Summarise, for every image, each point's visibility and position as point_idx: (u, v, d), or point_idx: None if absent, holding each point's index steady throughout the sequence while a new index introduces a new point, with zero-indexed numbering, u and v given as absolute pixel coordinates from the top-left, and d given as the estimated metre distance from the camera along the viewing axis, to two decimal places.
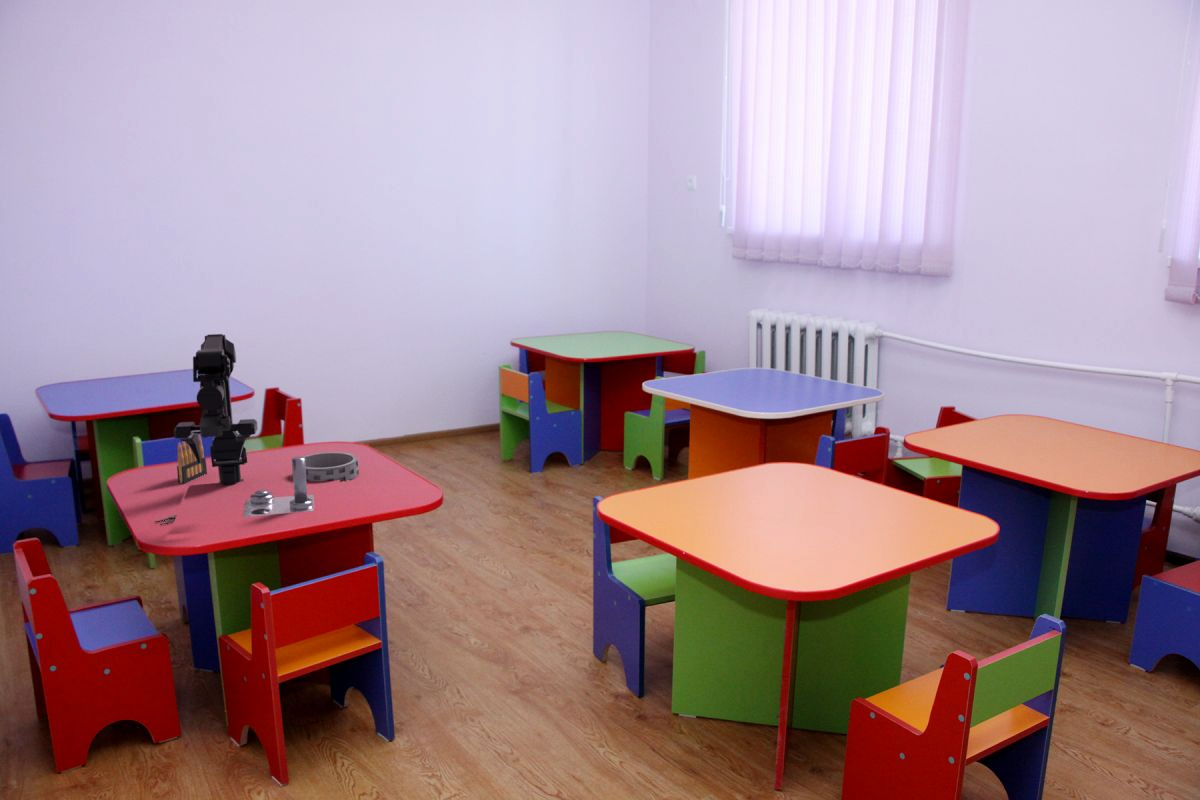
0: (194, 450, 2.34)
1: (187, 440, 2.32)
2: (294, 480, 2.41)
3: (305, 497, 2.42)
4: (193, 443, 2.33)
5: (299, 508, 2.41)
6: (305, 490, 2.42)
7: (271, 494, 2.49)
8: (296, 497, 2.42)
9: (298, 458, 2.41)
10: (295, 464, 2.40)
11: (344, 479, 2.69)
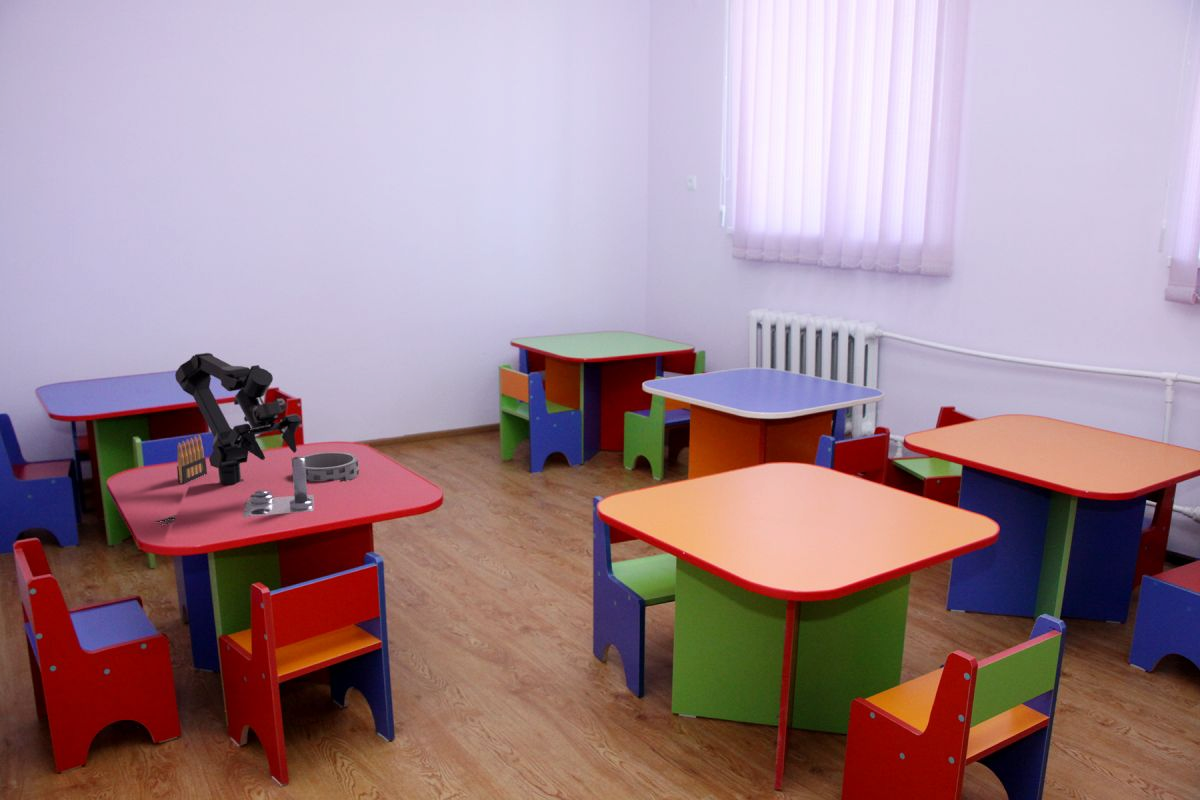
0: (256, 445, 2.42)
1: (249, 433, 2.42)
2: (294, 480, 2.41)
3: (305, 497, 2.42)
4: (254, 438, 2.43)
5: (299, 508, 2.41)
6: (305, 490, 2.42)
7: (271, 494, 2.49)
8: (296, 497, 2.42)
9: (298, 458, 2.41)
10: (295, 464, 2.40)
11: (344, 479, 2.69)
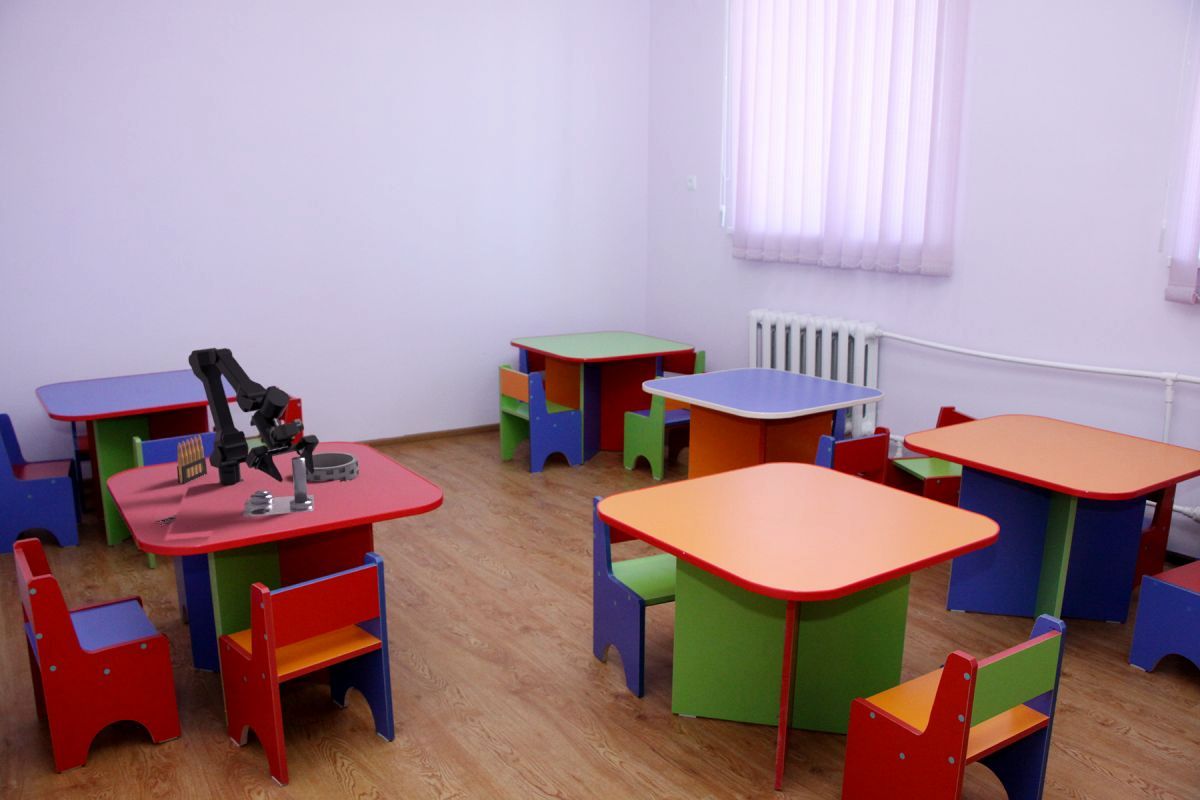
0: (274, 467, 2.39)
1: (267, 455, 2.38)
2: (294, 480, 2.41)
3: (305, 497, 2.42)
4: (271, 460, 2.39)
5: (299, 508, 2.41)
6: (305, 490, 2.42)
7: (271, 494, 2.49)
8: (296, 497, 2.42)
9: (298, 458, 2.41)
10: (295, 464, 2.40)
11: (344, 479, 2.69)
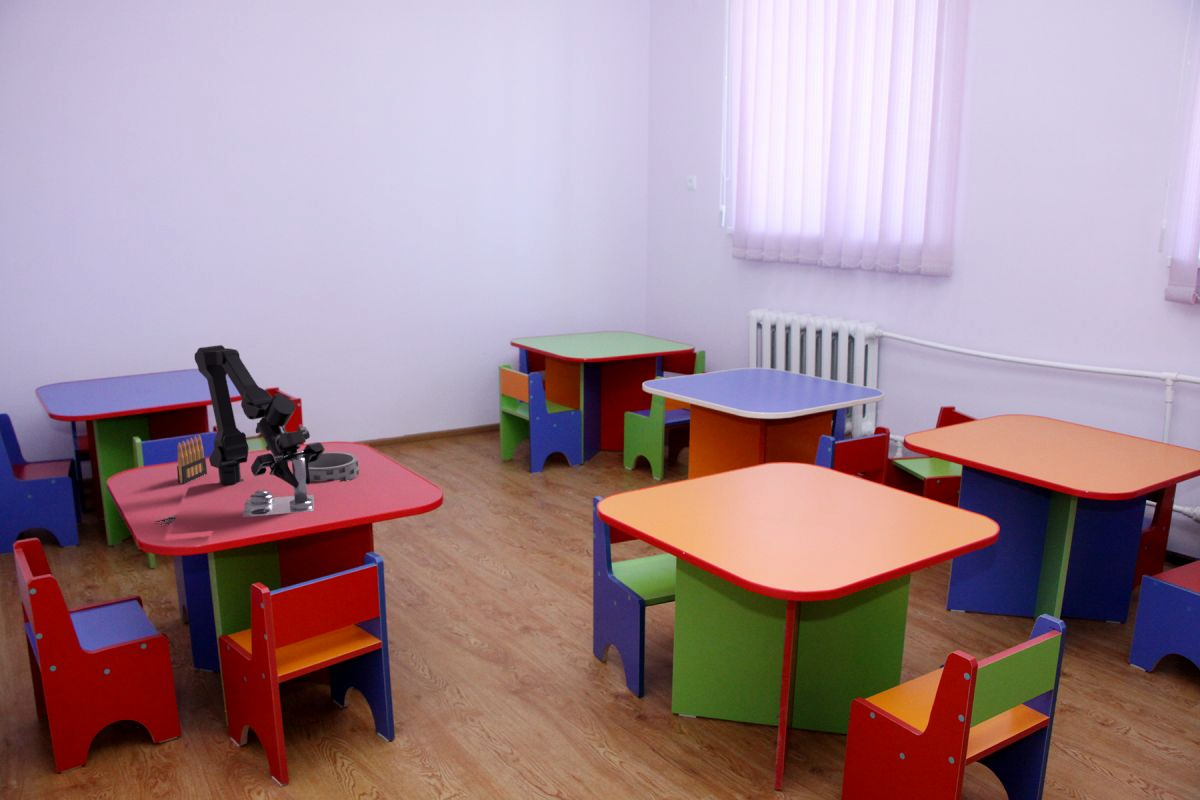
0: (289, 473, 2.40)
1: (282, 461, 2.39)
2: None
3: (305, 497, 2.42)
4: (287, 466, 2.40)
5: (299, 508, 2.41)
6: (305, 490, 2.42)
7: (271, 494, 2.49)
8: (296, 497, 2.42)
9: (298, 458, 2.41)
10: (295, 464, 2.40)
11: (344, 479, 2.69)
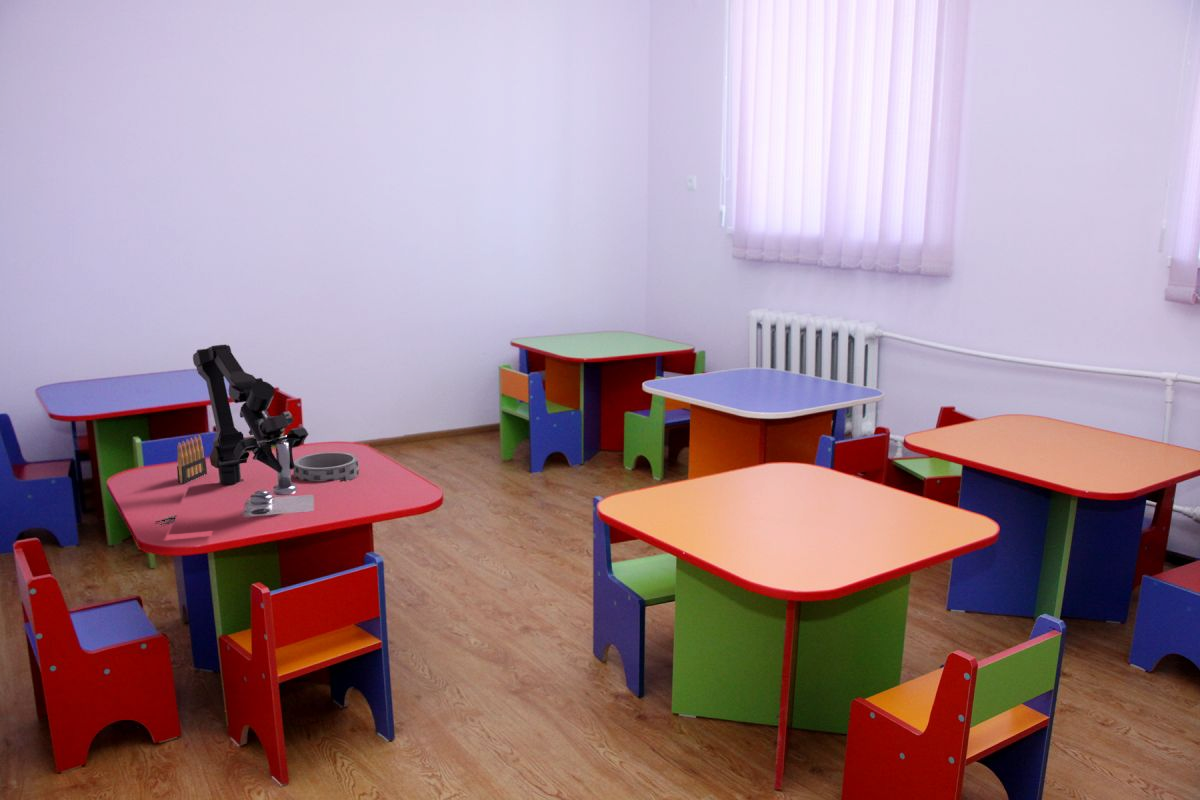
0: (273, 458, 2.38)
1: (266, 445, 2.37)
2: None
3: (289, 482, 2.40)
4: (270, 450, 2.38)
5: (283, 493, 2.39)
6: (289, 475, 2.40)
7: (271, 494, 2.49)
8: (280, 482, 2.40)
9: (282, 443, 2.39)
10: (279, 449, 2.37)
11: (344, 479, 2.69)
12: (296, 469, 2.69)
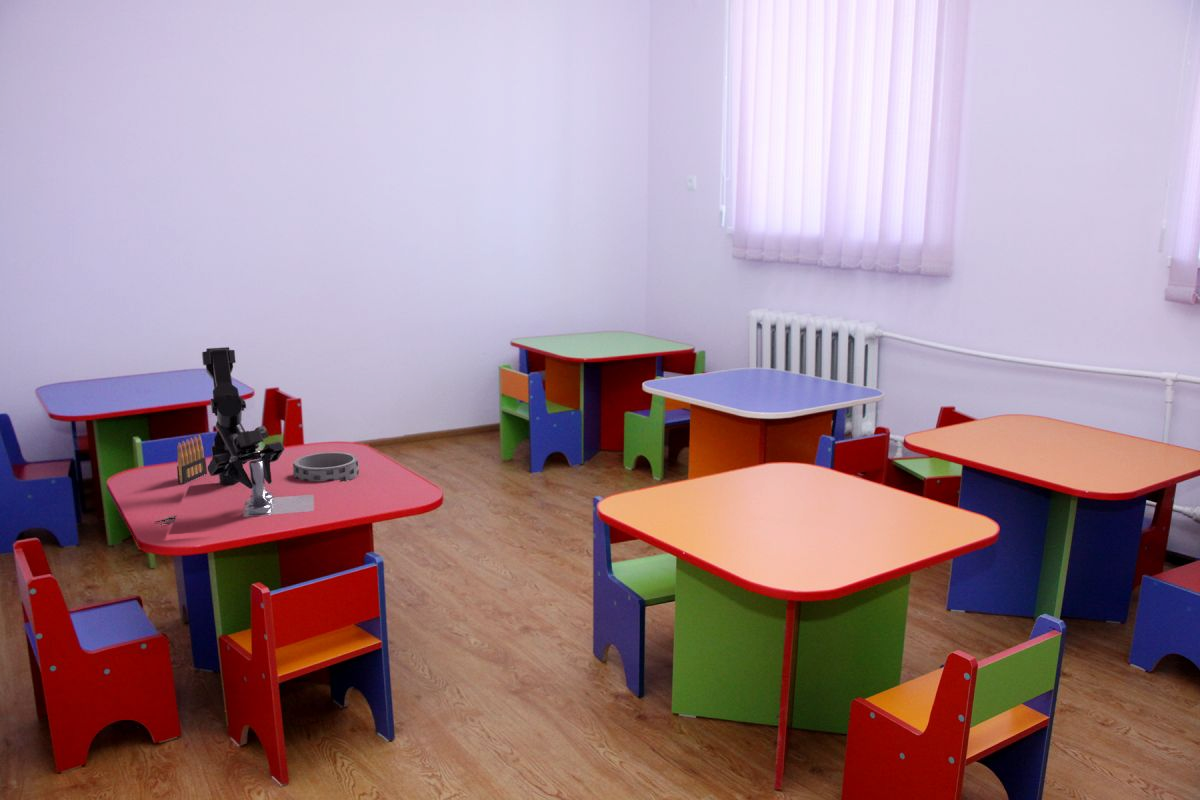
0: (244, 474, 2.35)
1: (237, 461, 2.34)
2: (252, 484, 2.37)
3: (263, 501, 2.39)
4: (241, 466, 2.36)
5: (258, 512, 2.37)
6: (263, 494, 2.38)
7: (271, 494, 2.49)
8: (254, 501, 2.38)
9: (256, 461, 2.37)
10: (253, 468, 2.36)
11: (344, 479, 2.69)
12: (296, 469, 2.69)
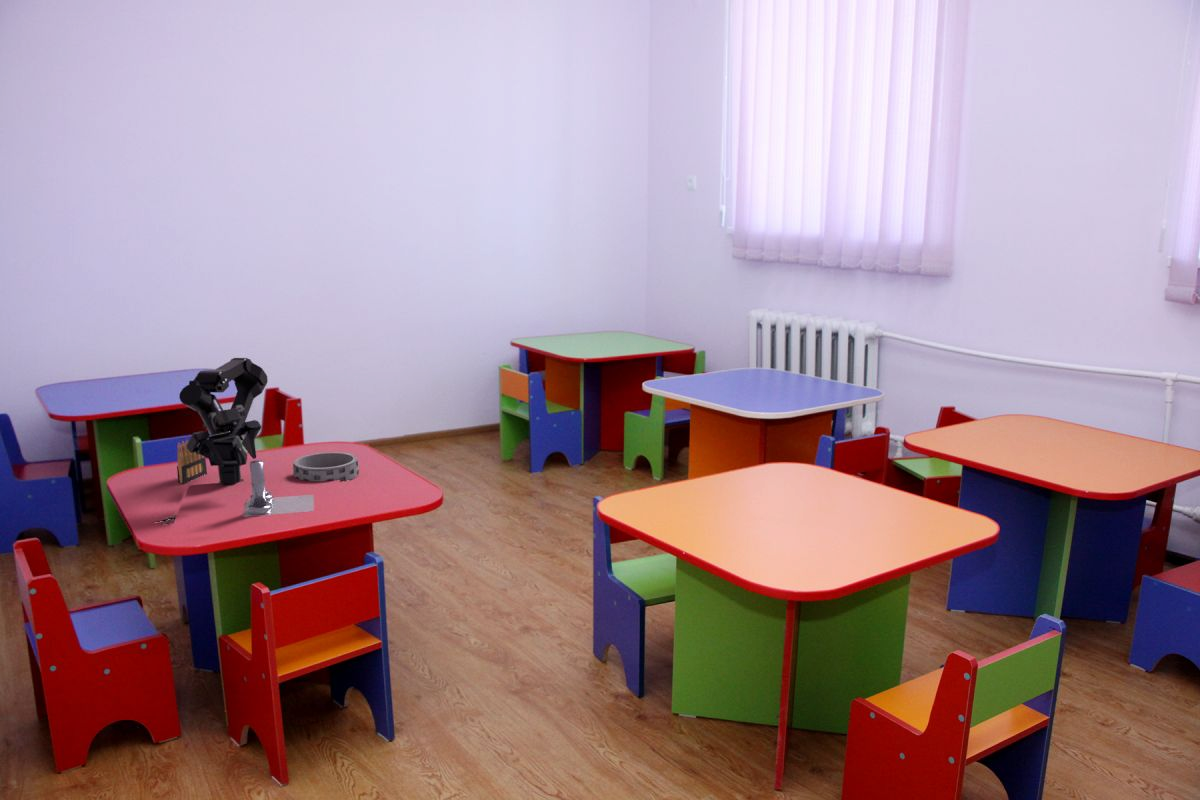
0: (215, 452, 2.43)
1: (208, 440, 2.42)
2: (252, 484, 2.37)
3: (264, 501, 2.39)
4: (213, 445, 2.43)
5: (258, 512, 2.37)
6: (264, 494, 2.38)
7: (271, 494, 2.49)
8: (254, 501, 2.38)
9: (256, 462, 2.37)
10: (253, 468, 2.36)
11: (344, 479, 2.69)
12: (296, 469, 2.69)
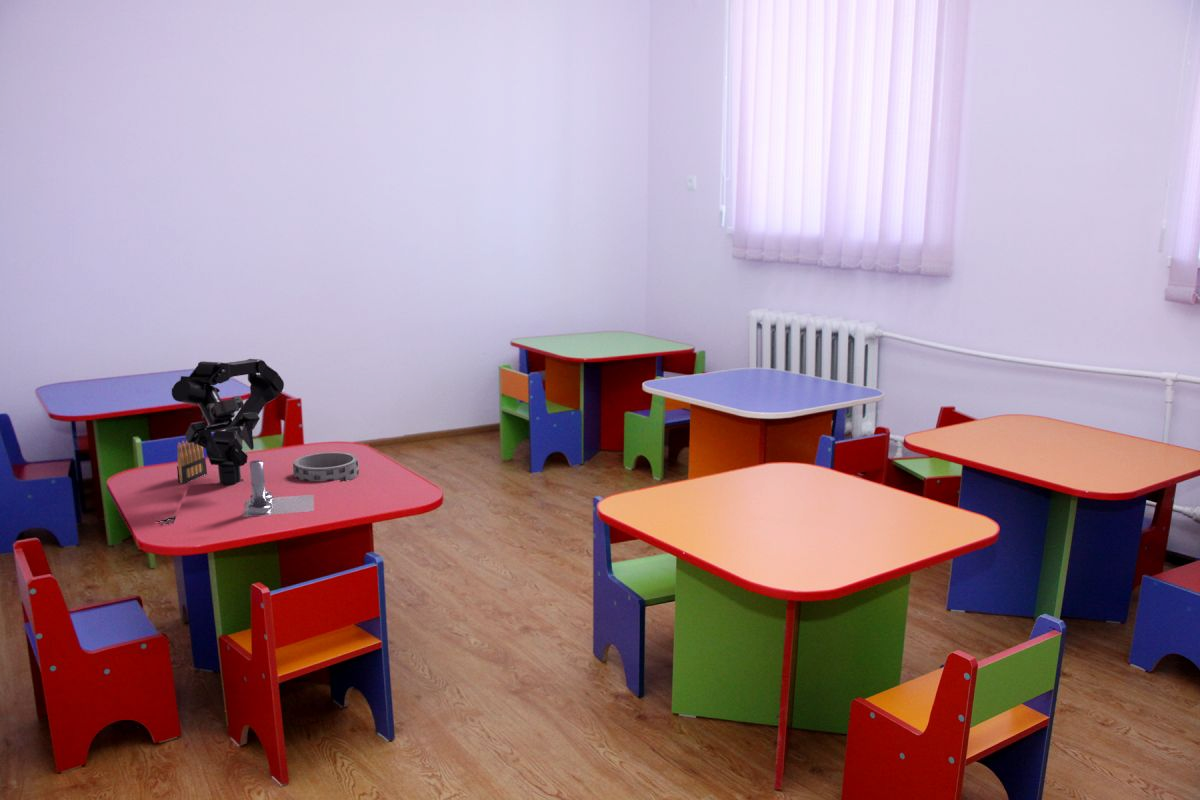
0: (213, 442, 2.45)
1: (206, 430, 2.44)
2: (252, 484, 2.37)
3: (264, 501, 2.39)
4: (210, 435, 2.45)
5: (258, 512, 2.37)
6: (264, 494, 2.38)
7: (271, 494, 2.49)
8: (254, 501, 2.38)
9: (256, 462, 2.37)
10: (253, 468, 2.36)
11: (344, 479, 2.69)
12: (296, 469, 2.69)
